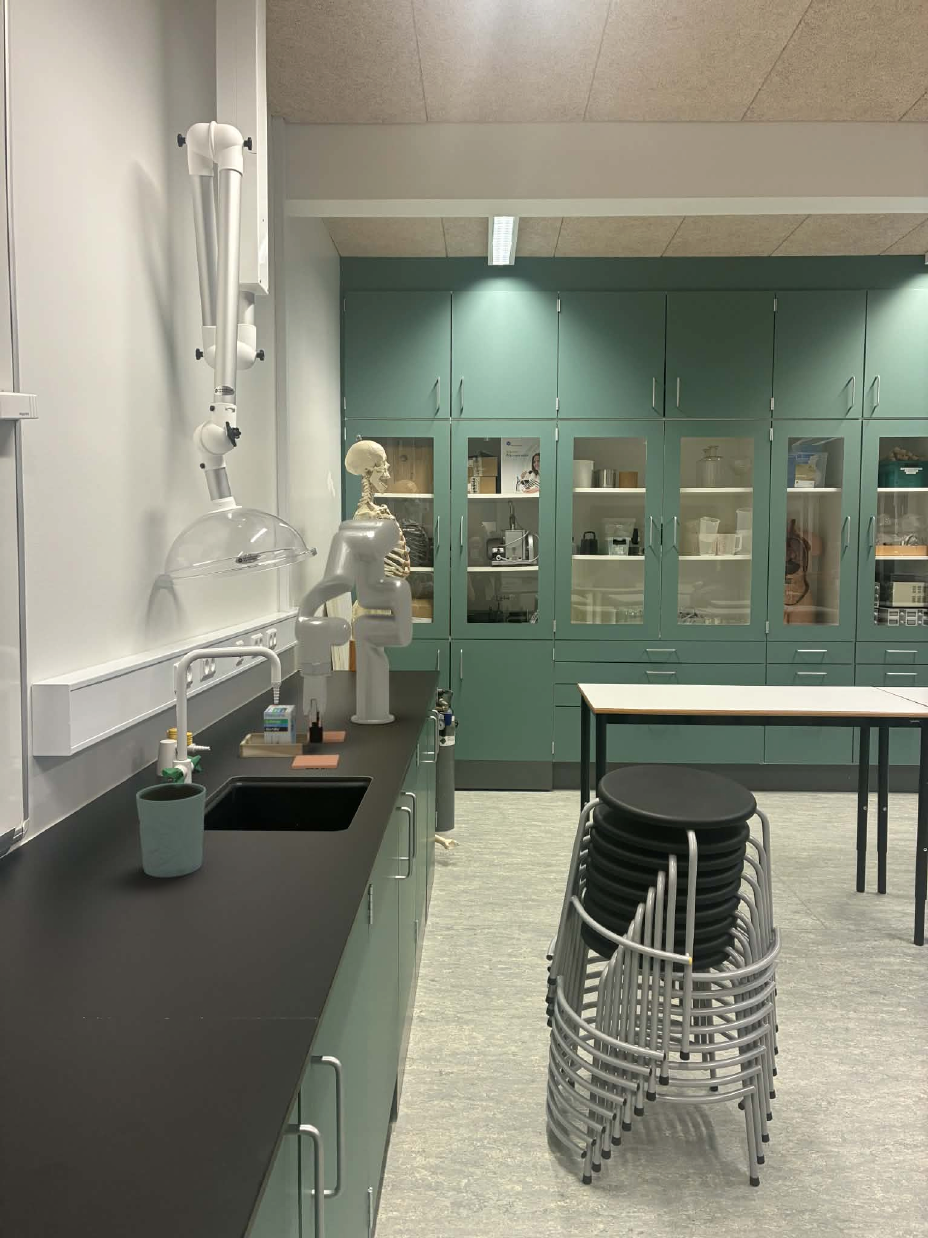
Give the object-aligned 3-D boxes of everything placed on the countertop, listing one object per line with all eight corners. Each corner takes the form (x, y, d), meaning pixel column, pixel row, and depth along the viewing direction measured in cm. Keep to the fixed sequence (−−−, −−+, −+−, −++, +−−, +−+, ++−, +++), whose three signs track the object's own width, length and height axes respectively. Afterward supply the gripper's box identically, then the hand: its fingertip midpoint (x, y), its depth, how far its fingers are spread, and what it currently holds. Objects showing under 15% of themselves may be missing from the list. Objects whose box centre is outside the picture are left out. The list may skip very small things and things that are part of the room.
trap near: (296, 758, 202) (296, 755, 202) (338, 758, 203) (338, 755, 203) (291, 769, 192) (291, 765, 192) (336, 768, 193) (336, 765, 193)
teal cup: (204, 853, 137) (203, 780, 136) (209, 875, 128) (208, 796, 127) (137, 861, 133) (135, 786, 133) (137, 883, 124) (135, 803, 123)
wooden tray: (248, 745, 217) (248, 733, 216) (307, 744, 218) (307, 733, 218) (239, 757, 203) (239, 745, 203) (301, 756, 204) (301, 744, 204)
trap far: (308, 734, 230) (308, 731, 230) (345, 734, 231) (345, 731, 231) (304, 742, 220) (304, 739, 220) (343, 742, 221) (343, 739, 221)
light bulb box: (291, 755, 205) (291, 711, 205) (263, 756, 205) (262, 712, 204) (296, 746, 216) (296, 704, 215) (269, 746, 215) (269, 704, 215)
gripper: (304, 665, 217) (304, 736, 218) (296, 673, 202) (297, 749, 203) (333, 665, 218) (333, 736, 219) (328, 673, 203) (328, 749, 204)
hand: (316, 742), depth 211 cm, fingers closed
